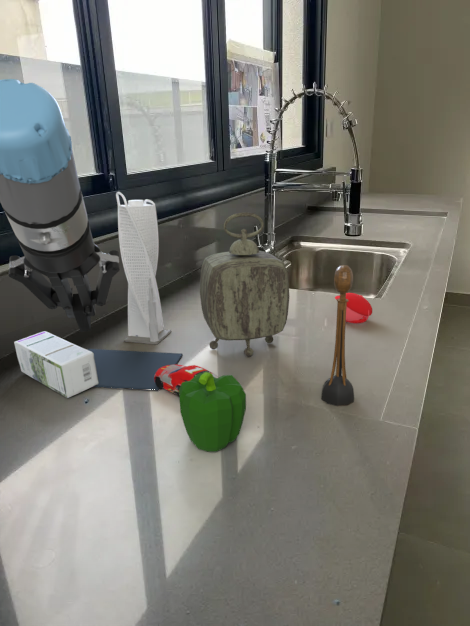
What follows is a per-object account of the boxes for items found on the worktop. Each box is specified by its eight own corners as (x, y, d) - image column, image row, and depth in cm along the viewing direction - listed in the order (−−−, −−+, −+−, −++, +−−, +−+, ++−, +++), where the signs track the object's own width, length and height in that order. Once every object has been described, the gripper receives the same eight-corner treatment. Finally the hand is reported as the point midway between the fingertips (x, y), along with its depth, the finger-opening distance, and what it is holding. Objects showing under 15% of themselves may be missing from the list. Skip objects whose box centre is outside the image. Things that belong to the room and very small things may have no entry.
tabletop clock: (275, 339, 96) (277, 208, 88) (291, 357, 88) (295, 214, 80) (202, 347, 93) (196, 211, 85) (211, 366, 84) (206, 218, 76)
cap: (372, 317, 107) (374, 291, 105) (370, 327, 102) (372, 298, 100) (335, 314, 110) (336, 288, 108) (331, 323, 104) (332, 295, 102)
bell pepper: (210, 416, 69) (207, 349, 65) (258, 436, 64) (257, 365, 60) (165, 443, 62) (160, 371, 59) (214, 468, 57) (211, 390, 54)
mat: (49, 384, 79) (49, 382, 79) (88, 350, 92) (88, 348, 92) (158, 391, 76) (158, 388, 76) (182, 355, 89) (182, 353, 89)
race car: (148, 384, 77) (146, 360, 76) (174, 373, 81) (174, 350, 80) (206, 414, 69) (206, 388, 68) (233, 400, 73) (233, 376, 71)
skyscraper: (117, 340, 97) (102, 193, 88) (136, 327, 104) (124, 189, 95) (157, 344, 94) (146, 193, 86) (173, 330, 102) (165, 190, 93)
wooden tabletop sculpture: (322, 386, 77) (327, 259, 70) (353, 388, 76) (361, 259, 69) (320, 404, 71) (326, 268, 65) (354, 407, 70) (362, 269, 64)
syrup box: (94, 351, 75) (46, 329, 85) (59, 365, 71) (12, 340, 80) (99, 384, 77) (52, 359, 87) (65, 400, 73) (19, 372, 83)
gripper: (-17, 258, 50) (38, 350, 71) (116, 251, 52) (131, 342, 73) (-11, 199, 53) (40, 303, 74) (113, 195, 55) (129, 297, 76)
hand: (85, 322), depth 73 cm, fingers closed
